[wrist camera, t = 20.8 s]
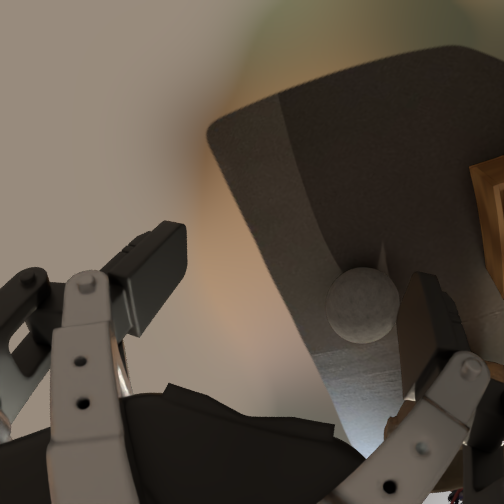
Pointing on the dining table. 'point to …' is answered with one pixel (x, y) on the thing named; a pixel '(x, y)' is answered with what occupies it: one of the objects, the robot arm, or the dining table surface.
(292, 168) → the dining table surface
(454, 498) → the lantern
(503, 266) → the bread box
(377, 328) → the decorative ball
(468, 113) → the dining table surface
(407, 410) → the bowl
